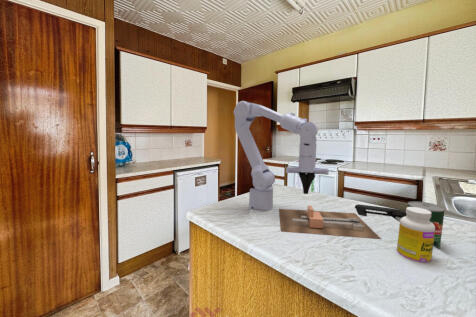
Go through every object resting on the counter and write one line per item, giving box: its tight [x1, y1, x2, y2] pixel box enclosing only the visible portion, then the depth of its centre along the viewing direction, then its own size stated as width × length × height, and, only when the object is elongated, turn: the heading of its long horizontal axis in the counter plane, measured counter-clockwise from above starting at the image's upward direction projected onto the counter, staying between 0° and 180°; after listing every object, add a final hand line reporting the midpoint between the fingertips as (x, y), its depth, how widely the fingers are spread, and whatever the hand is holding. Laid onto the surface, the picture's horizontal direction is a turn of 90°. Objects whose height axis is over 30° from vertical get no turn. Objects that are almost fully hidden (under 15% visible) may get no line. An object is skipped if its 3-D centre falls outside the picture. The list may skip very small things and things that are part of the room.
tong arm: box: [301, 216, 360, 223], centre depth 71 cm, size 18×2×2 cm, turn 81°
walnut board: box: [278, 208, 382, 240], centre depth 73 cm, size 28×20×2 cm
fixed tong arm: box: [292, 219, 364, 231], centre depth 68 cm, size 21×2×2 cm, turn 81°
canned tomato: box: [407, 201, 446, 250], centre depth 61 cm, size 8×8×11 cm
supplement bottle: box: [396, 206, 435, 263], centre depth 53 cm, size 7×7×13 cm
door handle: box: [354, 204, 407, 223], centre depth 78 cm, size 3×20×16 cm
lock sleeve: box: [306, 205, 324, 228], centre depth 70 cm, size 4×7×5 cm, turn 171°
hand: (305, 193), depth 78 cm, fingers closed
